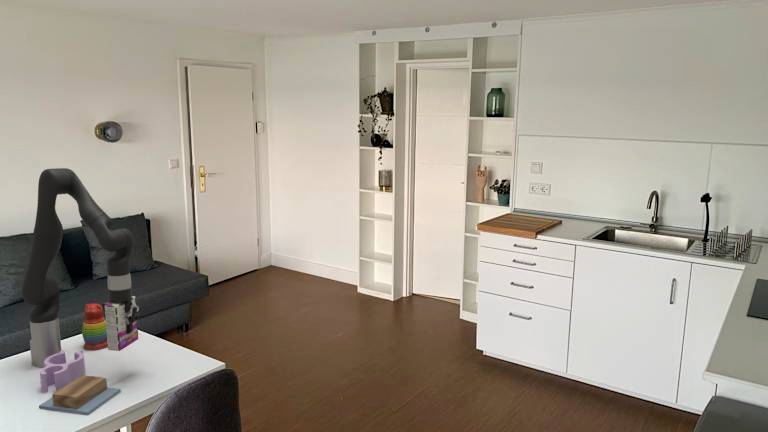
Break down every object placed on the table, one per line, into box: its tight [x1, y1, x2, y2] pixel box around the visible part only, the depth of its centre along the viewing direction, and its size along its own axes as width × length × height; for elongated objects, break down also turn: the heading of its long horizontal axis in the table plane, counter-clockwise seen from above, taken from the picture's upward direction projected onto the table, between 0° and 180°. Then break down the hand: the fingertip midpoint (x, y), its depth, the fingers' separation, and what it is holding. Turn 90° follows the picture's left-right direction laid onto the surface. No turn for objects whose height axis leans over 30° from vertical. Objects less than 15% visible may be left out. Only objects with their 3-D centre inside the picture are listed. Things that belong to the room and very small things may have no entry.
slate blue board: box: [38, 386, 122, 416], centre depth 195 cm, size 18×16×1 cm
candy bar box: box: [104, 295, 139, 352], centre depth 208 cm, size 11×5×16 cm, turn 168°
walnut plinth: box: [51, 374, 108, 409], centre depth 195 cm, size 9×14×4 cm, turn 168°
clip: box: [39, 349, 86, 394], centre depth 209 cm, size 20×12×7 cm, turn 8°
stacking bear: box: [81, 303, 108, 351], centre depth 237 cm, size 11×10×18 cm
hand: (122, 332), depth 209 cm, fingers closed on candy bar box, 5 cm apart
